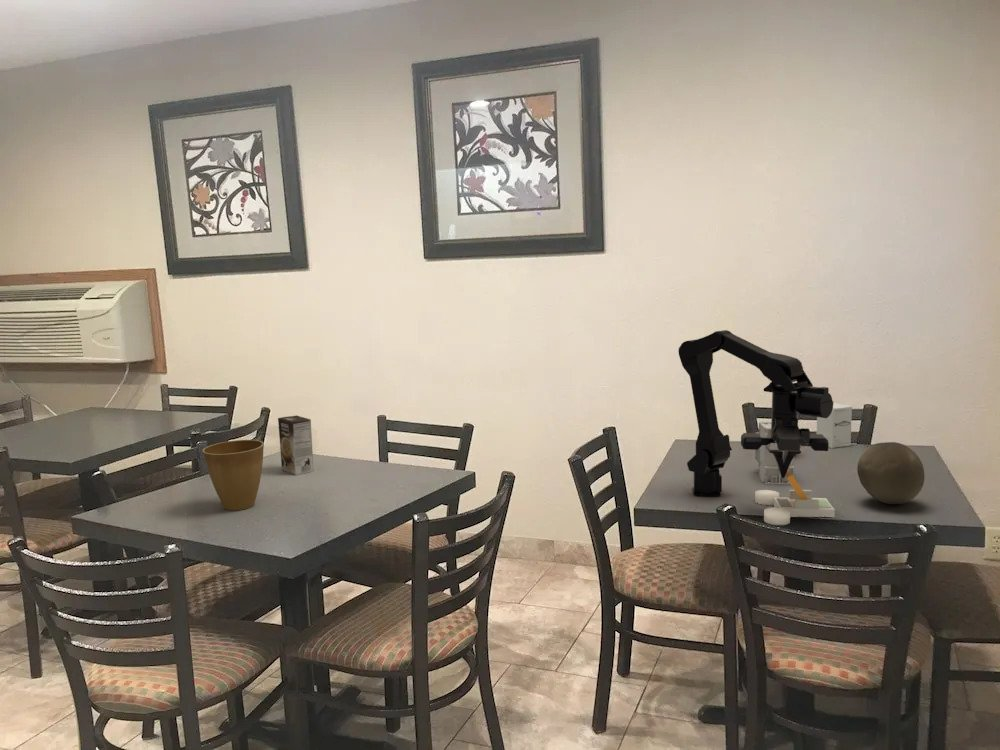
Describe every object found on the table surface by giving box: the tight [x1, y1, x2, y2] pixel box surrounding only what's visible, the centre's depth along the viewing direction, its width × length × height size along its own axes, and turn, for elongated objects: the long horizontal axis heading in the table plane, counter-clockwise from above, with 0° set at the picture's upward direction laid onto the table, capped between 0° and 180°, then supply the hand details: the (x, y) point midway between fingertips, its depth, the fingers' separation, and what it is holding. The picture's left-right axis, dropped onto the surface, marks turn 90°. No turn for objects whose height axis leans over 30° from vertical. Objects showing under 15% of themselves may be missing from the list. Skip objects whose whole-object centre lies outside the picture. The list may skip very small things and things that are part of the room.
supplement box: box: [815, 402, 853, 449], centre depth 251 cm, size 7×7×13 cm
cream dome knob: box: [754, 489, 780, 506], centre depth 197 cm, size 6×6×2 cm
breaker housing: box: [772, 489, 836, 518], centre depth 189 cm, size 12×9×4 cm
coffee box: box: [277, 414, 315, 476], centre depth 241 cm, size 9×6×16 cm
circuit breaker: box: [754, 421, 796, 485], centre depth 218 cm, size 8×14×15 cm, turn 174°
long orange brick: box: [785, 469, 807, 499], centre depth 189 cm, size 2×5×8 cm, turn 171°
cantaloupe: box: [856, 441, 926, 505], centre depth 192 cm, size 14×14×15 cm
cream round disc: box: [763, 506, 791, 526], centre depth 183 cm, size 6×6×2 cm
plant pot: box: [202, 439, 265, 512], centre depth 207 cm, size 15×15×16 cm
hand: (782, 477), depth 189 cm, fingers closed
